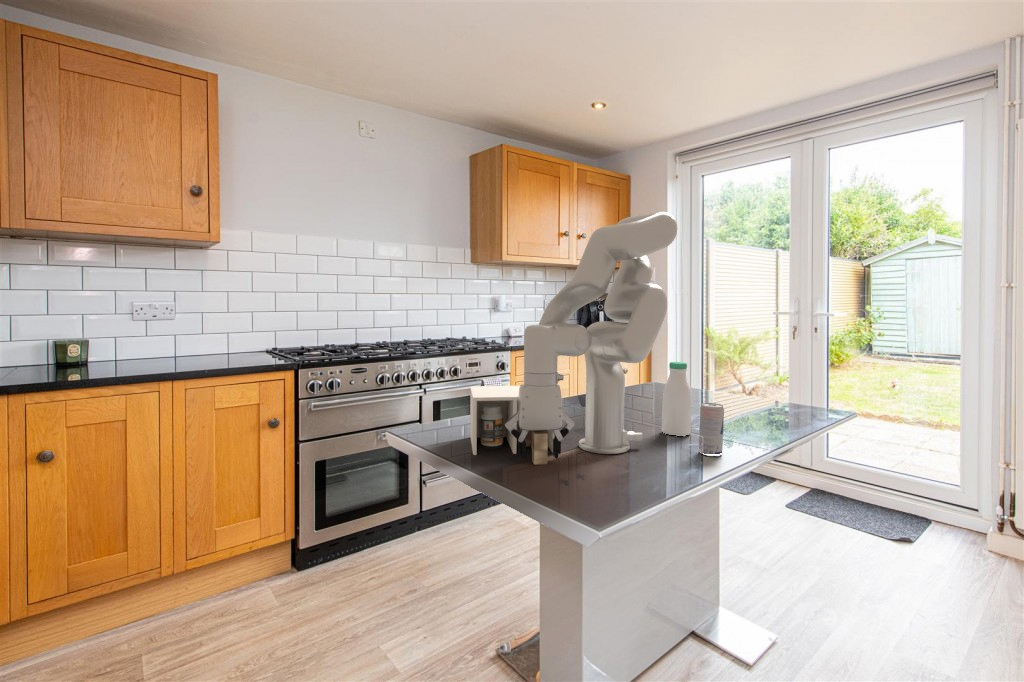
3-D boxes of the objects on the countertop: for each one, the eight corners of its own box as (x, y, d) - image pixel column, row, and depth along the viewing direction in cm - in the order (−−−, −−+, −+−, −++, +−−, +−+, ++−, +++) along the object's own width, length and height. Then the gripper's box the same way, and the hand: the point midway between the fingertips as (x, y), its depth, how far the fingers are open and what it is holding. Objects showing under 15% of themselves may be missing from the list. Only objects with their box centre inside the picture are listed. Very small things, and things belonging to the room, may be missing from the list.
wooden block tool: (537, 441, 135) (537, 414, 135) (551, 463, 116) (552, 433, 116) (518, 441, 134) (518, 415, 134) (529, 464, 116) (530, 434, 115)
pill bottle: (500, 447, 129) (500, 408, 128) (478, 446, 130) (478, 407, 129) (505, 441, 134) (505, 404, 134) (483, 440, 135) (483, 403, 135)
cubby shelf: (543, 435, 141) (544, 385, 140) (555, 452, 125) (556, 396, 124) (470, 437, 138) (470, 386, 137) (473, 454, 123) (473, 397, 122)
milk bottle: (694, 437, 139) (697, 364, 138) (665, 437, 140) (668, 363, 138) (685, 430, 147) (687, 360, 146) (658, 430, 147) (660, 360, 146)
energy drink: (722, 452, 126) (724, 403, 125) (721, 458, 121) (723, 408, 120) (699, 449, 128) (701, 402, 127) (697, 455, 123) (699, 405, 122)
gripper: (574, 376, 121) (572, 451, 122) (500, 377, 119) (499, 453, 120) (582, 381, 113) (580, 461, 115) (503, 382, 111) (503, 463, 113)
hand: (539, 456), depth 117 cm, fingers open, 6 cm apart
